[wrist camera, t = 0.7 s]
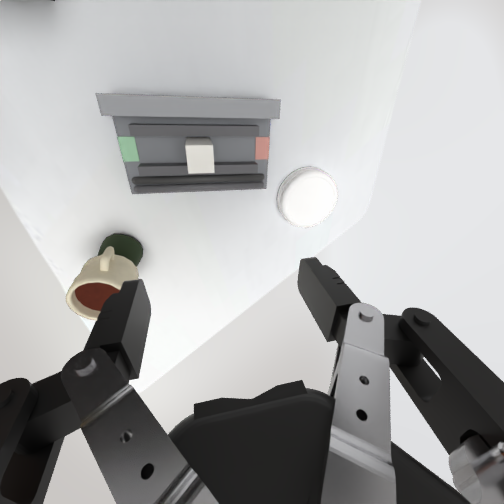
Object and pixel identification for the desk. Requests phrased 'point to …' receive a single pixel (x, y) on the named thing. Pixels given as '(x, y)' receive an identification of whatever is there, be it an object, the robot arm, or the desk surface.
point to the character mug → (104, 275)
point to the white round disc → (307, 197)
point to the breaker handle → (199, 155)
